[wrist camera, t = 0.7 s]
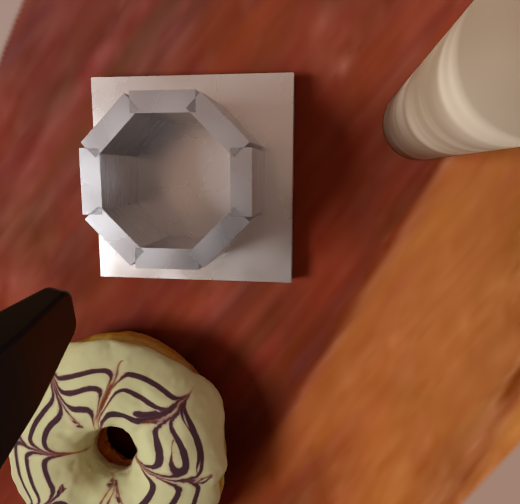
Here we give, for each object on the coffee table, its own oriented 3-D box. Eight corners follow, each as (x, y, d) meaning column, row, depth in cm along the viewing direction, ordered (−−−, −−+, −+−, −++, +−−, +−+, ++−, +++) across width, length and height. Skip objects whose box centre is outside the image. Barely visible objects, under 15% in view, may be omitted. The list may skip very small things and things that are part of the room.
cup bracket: (292, 278, 23) (283, 303, 18) (108, 272, 24) (58, 295, 20) (295, 76, 21) (286, 51, 17) (99, 80, 23) (43, 58, 18)
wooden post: (457, 160, 21) (653, 140, 8) (381, 160, 21) (456, 141, 9) (462, 82, 21) (679, -66, 8) (384, 83, 21) (468, -54, 8)
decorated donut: (251, 348, 24) (238, 380, 20) (218, 539, 26) (199, 600, 22) (52, 305, 25) (4, 328, 21) (33, 492, 27) (-14, 542, 23)
